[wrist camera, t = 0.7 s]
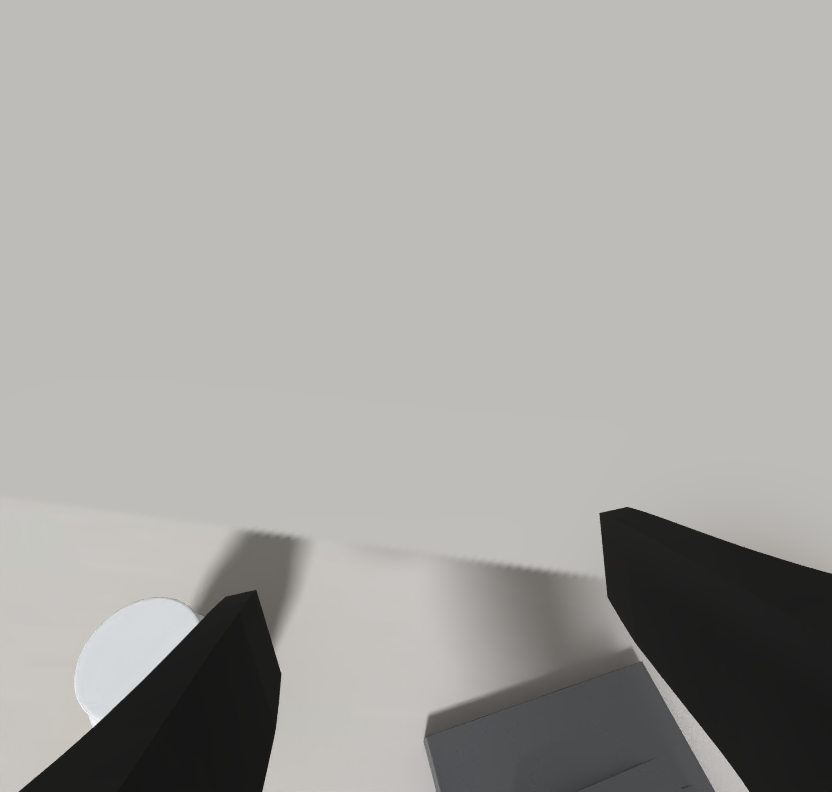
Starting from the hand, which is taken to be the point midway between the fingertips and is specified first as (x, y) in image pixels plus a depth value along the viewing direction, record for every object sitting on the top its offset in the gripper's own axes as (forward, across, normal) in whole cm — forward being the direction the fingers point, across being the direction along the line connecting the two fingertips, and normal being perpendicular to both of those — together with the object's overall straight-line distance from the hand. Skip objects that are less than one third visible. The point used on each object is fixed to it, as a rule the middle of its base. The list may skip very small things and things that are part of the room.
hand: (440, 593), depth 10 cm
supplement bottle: (+11, +12, +11) cm, 20 cm away
